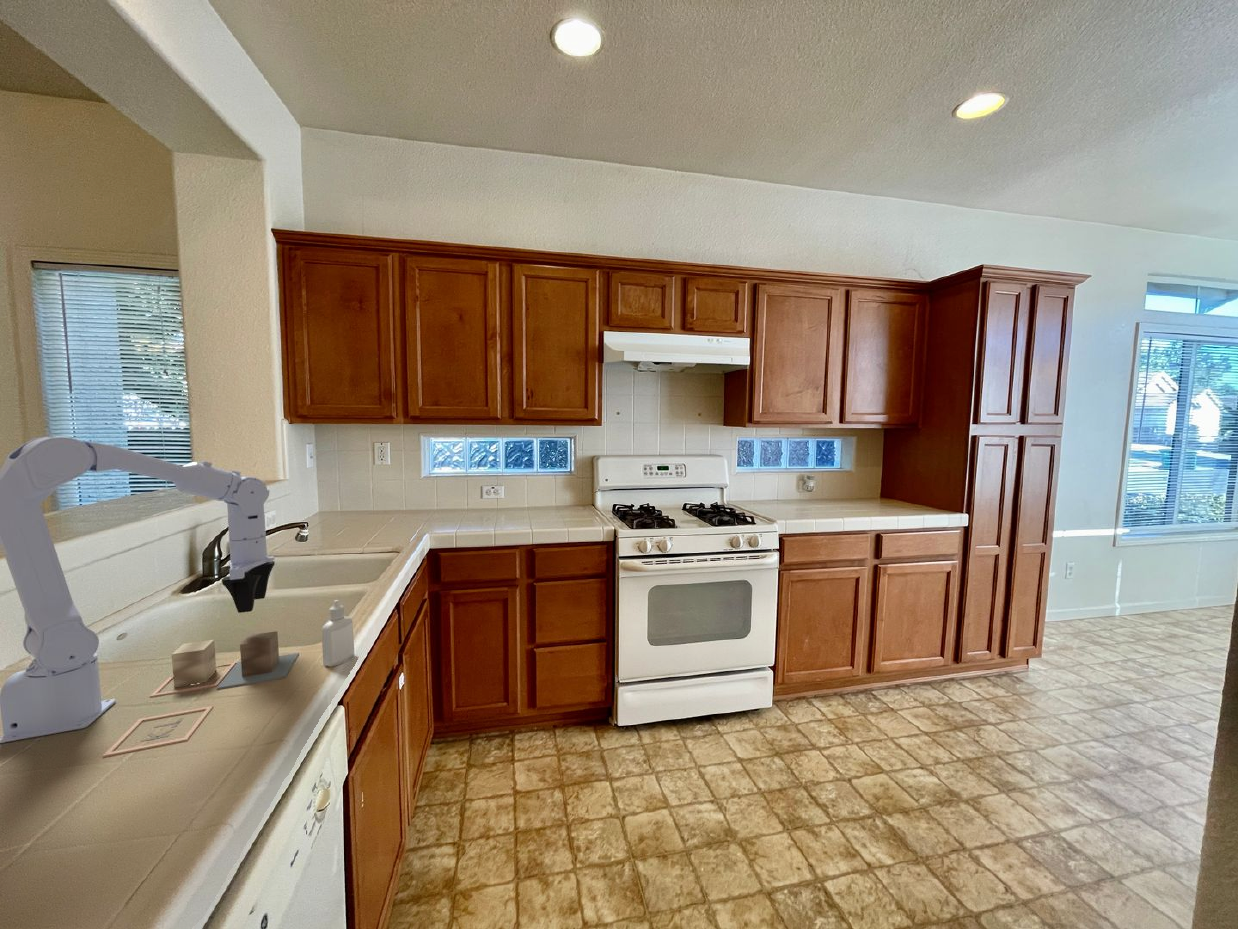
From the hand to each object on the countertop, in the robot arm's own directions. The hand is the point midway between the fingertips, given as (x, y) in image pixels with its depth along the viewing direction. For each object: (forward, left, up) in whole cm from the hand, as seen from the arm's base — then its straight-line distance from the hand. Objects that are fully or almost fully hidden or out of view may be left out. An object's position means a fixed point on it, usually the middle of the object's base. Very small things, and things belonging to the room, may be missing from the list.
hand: (252, 605), depth 95 cm
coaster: (+3, -8, -10) cm, 13 cm away
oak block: (-7, -7, -10) cm, 14 cm away
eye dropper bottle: (+16, -9, -11) cm, 21 cm away
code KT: (-5, -24, -10) cm, 27 cm away
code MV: (-7, -7, -10) cm, 14 cm away
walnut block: (+3, -8, -10) cm, 13 cm away
